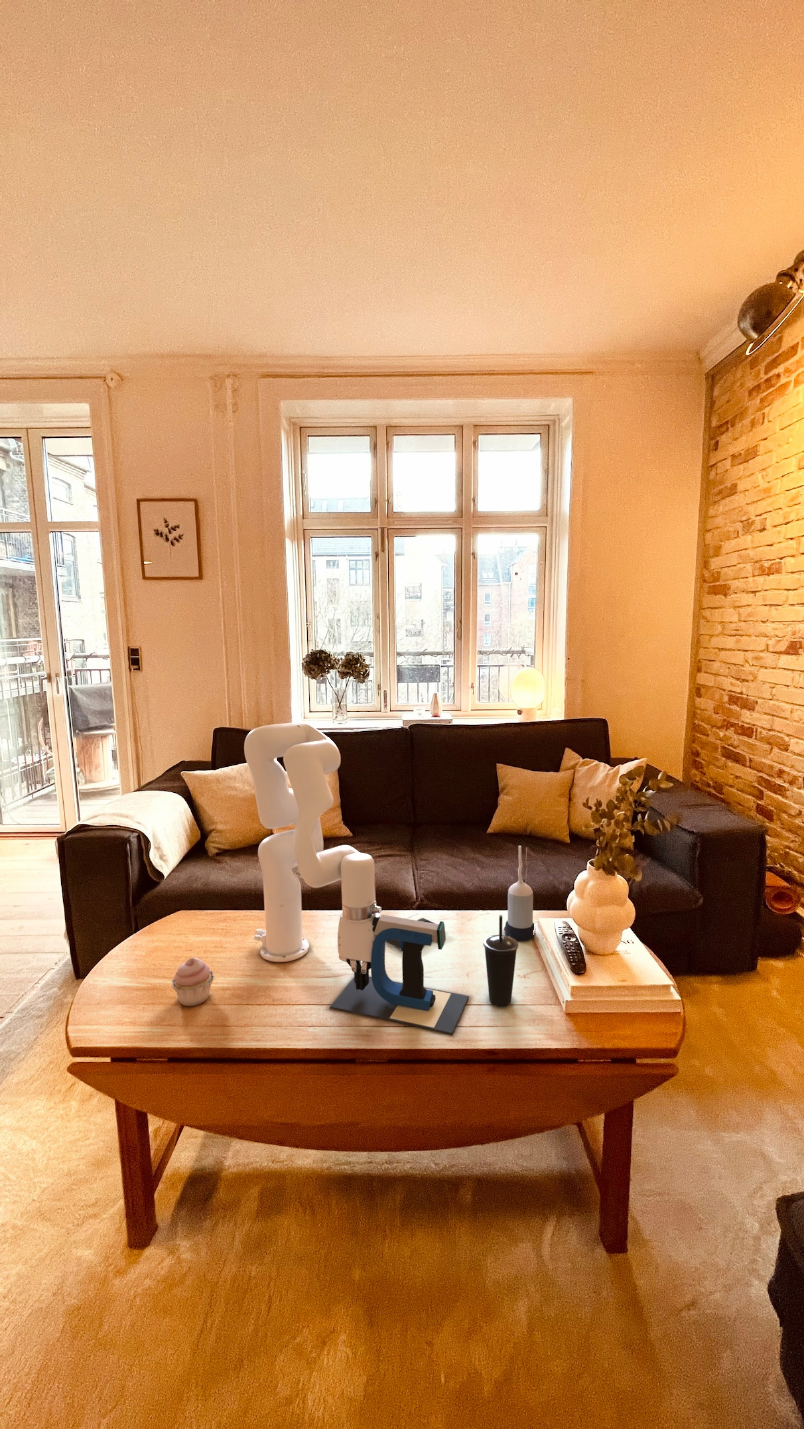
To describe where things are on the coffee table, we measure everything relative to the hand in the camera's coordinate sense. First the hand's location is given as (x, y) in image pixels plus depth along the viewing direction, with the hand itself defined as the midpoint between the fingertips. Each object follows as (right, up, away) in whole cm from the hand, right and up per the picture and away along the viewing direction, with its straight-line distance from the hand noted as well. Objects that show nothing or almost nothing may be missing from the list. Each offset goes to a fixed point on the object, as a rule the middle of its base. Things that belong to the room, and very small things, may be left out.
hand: (362, 986), depth 137 cm
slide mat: (+9, -2, -2) cm, 9 cm away
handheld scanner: (+10, -2, -3) cm, 11 cm away
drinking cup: (+31, -2, -2) cm, 31 cm away
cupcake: (-38, -3, 0) cm, 38 cm away
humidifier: (+42, +1, +29) cm, 51 cm away
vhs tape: (+13, +1, +28) cm, 31 cm away
